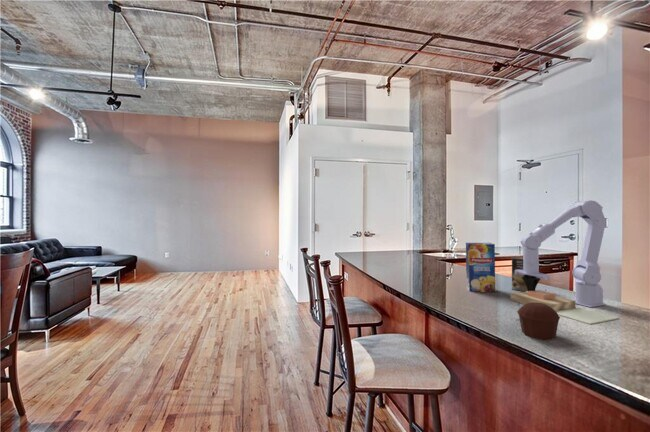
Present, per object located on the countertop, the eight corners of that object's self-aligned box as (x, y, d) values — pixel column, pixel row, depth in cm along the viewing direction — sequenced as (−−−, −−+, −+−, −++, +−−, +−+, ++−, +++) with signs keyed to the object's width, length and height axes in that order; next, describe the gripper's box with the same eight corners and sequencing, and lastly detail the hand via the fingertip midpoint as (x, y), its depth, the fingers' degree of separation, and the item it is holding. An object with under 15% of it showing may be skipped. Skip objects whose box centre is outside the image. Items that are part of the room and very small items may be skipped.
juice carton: (469, 291, 154) (468, 244, 154) (466, 287, 161) (465, 242, 161) (495, 292, 151) (494, 244, 151) (491, 288, 158) (490, 242, 158)
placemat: (579, 308, 124) (579, 307, 124) (619, 318, 112) (619, 317, 112) (552, 313, 119) (551, 312, 119) (589, 324, 107) (589, 323, 107)
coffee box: (511, 289, 156) (511, 258, 156) (511, 287, 161) (511, 256, 161) (533, 292, 151) (532, 259, 151) (532, 289, 156) (532, 257, 156)
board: (533, 296, 142) (533, 290, 142) (575, 308, 125) (575, 300, 125) (510, 300, 138) (510, 293, 138) (551, 312, 121) (551, 304, 121)
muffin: (534, 326, 106) (534, 297, 106) (569, 338, 96) (568, 306, 96) (509, 331, 102) (508, 301, 102) (542, 344, 92) (541, 311, 92)
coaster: (539, 294, 136) (539, 289, 136) (555, 298, 129) (555, 293, 129) (527, 295, 133) (527, 291, 133) (543, 299, 127) (543, 295, 127)
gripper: (509, 260, 141) (510, 289, 141) (540, 265, 127) (540, 297, 127) (521, 259, 143) (521, 288, 143) (552, 264, 130) (552, 296, 130)
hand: (531, 292), depth 136 cm, fingers closed
